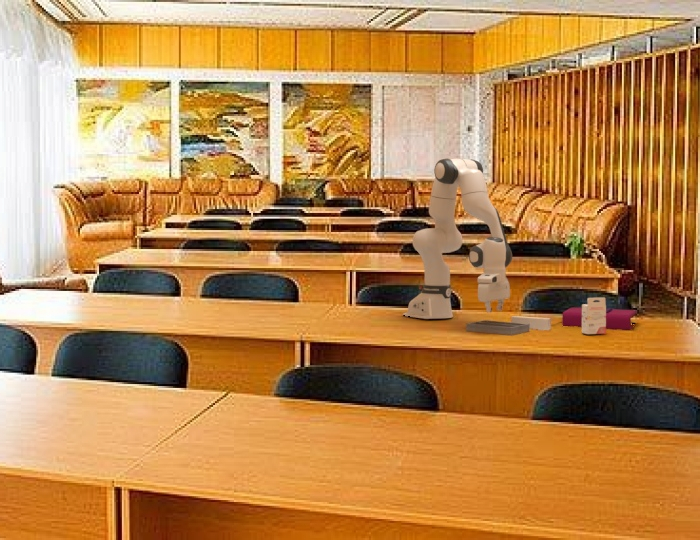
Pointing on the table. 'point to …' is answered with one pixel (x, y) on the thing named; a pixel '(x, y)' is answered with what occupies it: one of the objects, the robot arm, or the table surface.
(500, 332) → the divided tray
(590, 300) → the ink cartridge box
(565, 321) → the book
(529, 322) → the clay strip
